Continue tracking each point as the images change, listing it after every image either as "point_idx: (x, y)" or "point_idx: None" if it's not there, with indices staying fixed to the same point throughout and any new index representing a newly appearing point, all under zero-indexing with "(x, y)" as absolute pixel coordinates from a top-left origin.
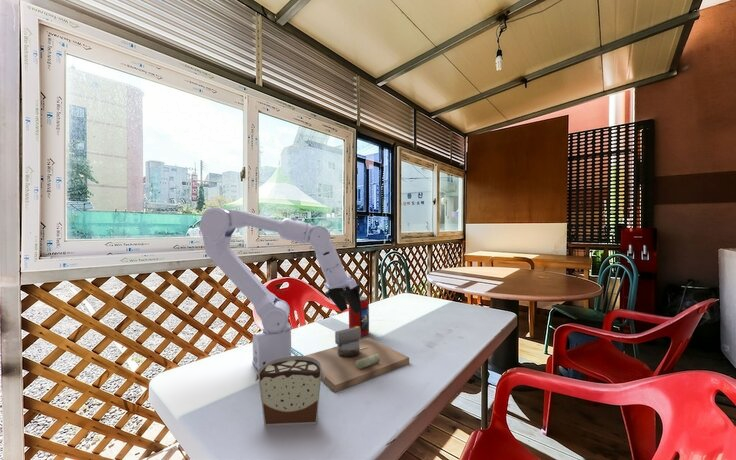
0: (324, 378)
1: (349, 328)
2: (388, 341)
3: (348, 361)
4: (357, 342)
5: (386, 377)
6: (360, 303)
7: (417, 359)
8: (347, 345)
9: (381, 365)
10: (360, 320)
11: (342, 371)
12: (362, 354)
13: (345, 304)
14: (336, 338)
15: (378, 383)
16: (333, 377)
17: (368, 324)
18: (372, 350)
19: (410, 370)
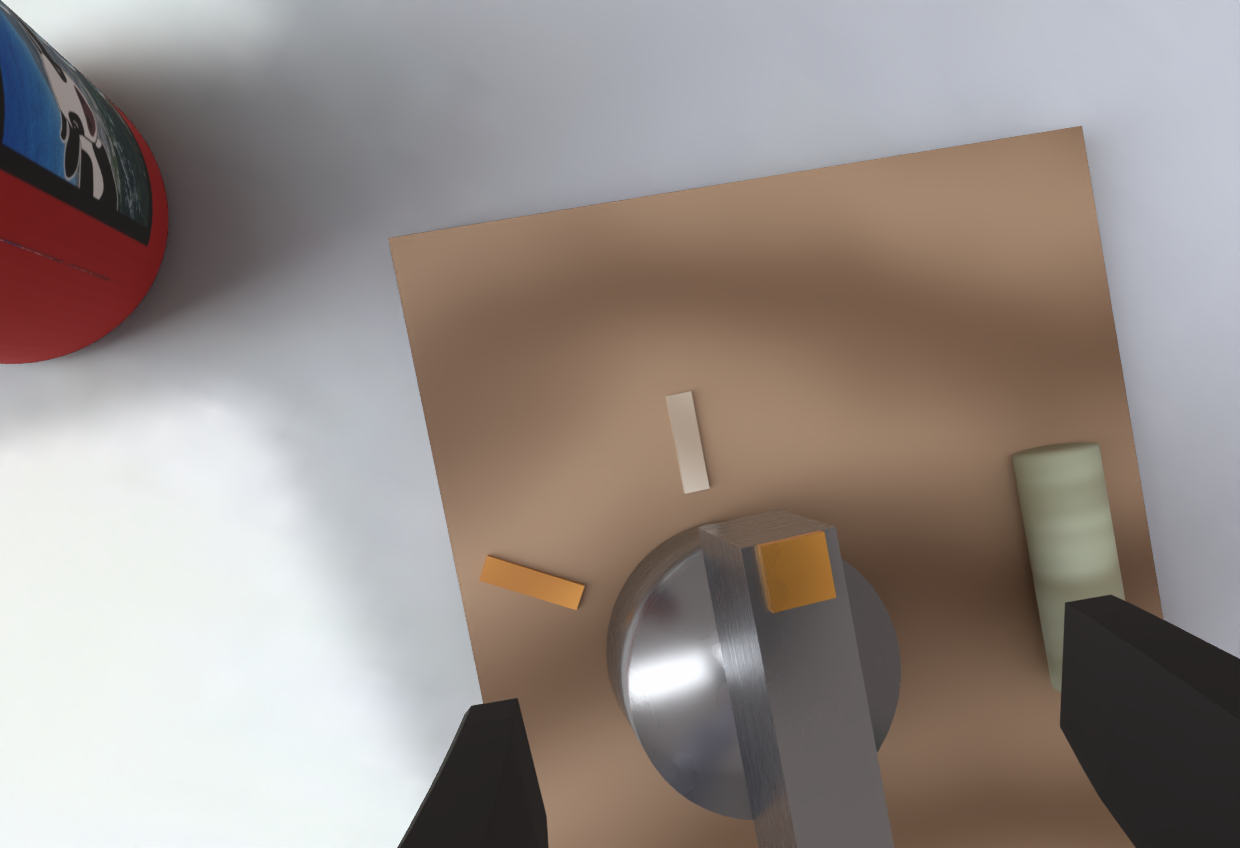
0: None
1: (775, 688)
2: (479, 13)
3: (899, 703)
4: (863, 591)
5: (1157, 454)
6: (1232, 660)
7: (1013, 24)
8: (885, 730)
9: (1103, 449)
10: (87, 213)
11: (1049, 813)
12: (819, 516)
13: (510, 781)
14: None
15: (1203, 554)
16: None
17: (75, 68)
18: (776, 375)
19: (1150, 212)
